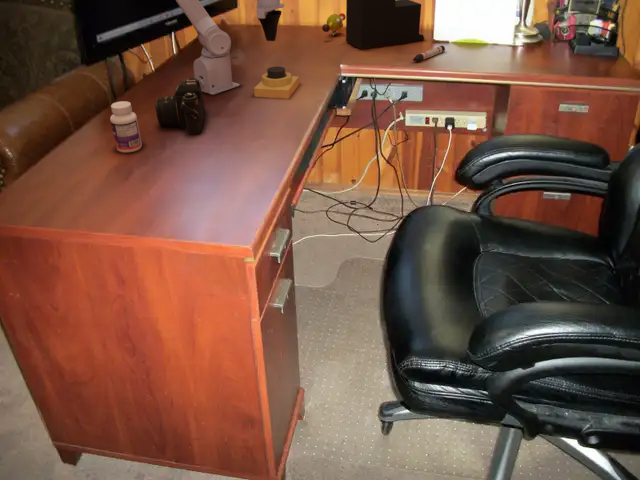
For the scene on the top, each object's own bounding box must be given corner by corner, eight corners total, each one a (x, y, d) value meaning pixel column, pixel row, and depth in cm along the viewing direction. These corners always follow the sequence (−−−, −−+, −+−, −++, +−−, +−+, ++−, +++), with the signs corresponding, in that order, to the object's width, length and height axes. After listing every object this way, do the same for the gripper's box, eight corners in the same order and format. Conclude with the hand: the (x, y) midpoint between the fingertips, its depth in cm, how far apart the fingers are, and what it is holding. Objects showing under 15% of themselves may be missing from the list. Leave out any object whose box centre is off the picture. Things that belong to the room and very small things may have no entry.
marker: (439, 51, 189) (439, 44, 188) (444, 52, 188) (445, 45, 187) (410, 63, 180) (410, 56, 179) (415, 64, 179) (416, 57, 178)
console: (288, 98, 157) (287, 83, 155) (254, 96, 158) (253, 81, 156) (299, 84, 166) (298, 69, 164) (267, 82, 167) (266, 68, 165)
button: (282, 80, 158) (282, 72, 157) (265, 79, 159) (264, 71, 158) (287, 74, 162) (287, 66, 160) (270, 73, 162) (270, 66, 161)
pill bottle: (119, 143, 135) (110, 100, 130) (144, 142, 135) (136, 99, 130) (114, 153, 130) (104, 109, 125) (140, 152, 131) (131, 108, 125)
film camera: (150, 115, 149) (143, 74, 143) (200, 107, 153) (195, 67, 147) (166, 142, 135) (159, 98, 129) (221, 132, 139) (216, 89, 134)
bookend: (406, 33, 208) (410, -43, 195) (424, 40, 200) (430, -39, 187) (345, 42, 200) (345, -36, 187) (361, 50, 192) (362, -31, 179)
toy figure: (333, 42, 200) (333, 21, 196) (317, 41, 202) (317, 20, 198) (351, 29, 214) (351, 9, 210) (336, 28, 216) (336, 8, 212)
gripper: (274, -8, 151) (277, 48, 158) (289, -20, 163) (292, 33, 170) (246, -9, 152) (251, 47, 159) (264, -20, 164) (267, 32, 171)
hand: (271, 40), depth 165 cm, fingers closed
